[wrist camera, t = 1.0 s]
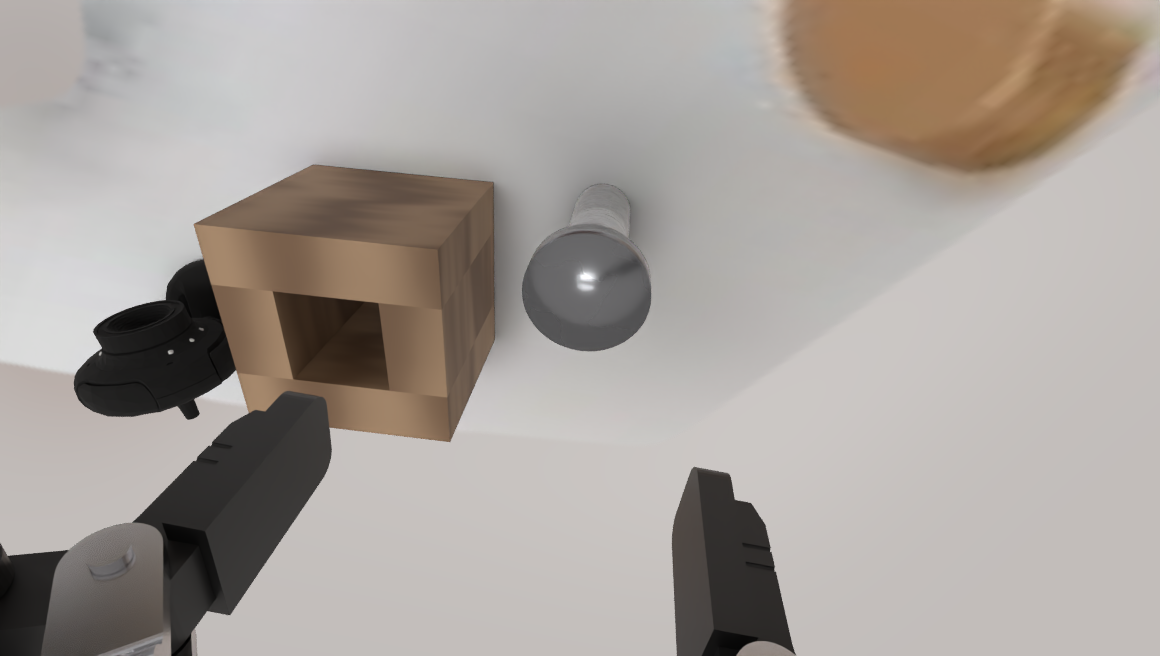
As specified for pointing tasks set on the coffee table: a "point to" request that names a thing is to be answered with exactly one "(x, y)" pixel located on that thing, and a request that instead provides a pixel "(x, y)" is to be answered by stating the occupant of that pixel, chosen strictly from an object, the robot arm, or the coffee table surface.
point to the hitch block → (359, 294)
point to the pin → (589, 276)
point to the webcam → (159, 352)
